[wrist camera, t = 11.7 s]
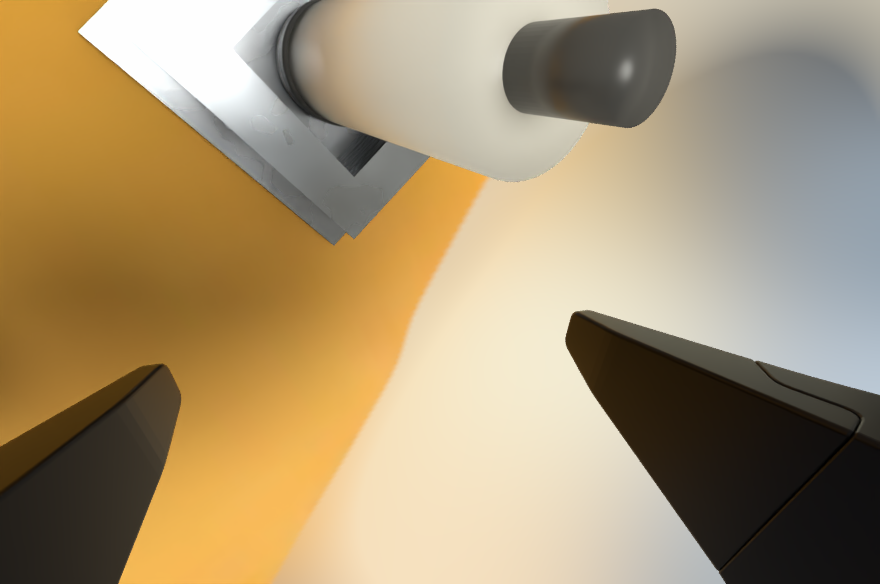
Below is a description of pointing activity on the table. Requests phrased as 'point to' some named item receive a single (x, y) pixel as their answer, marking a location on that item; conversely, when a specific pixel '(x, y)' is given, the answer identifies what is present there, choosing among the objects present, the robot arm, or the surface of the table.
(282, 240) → the table surface
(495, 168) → the white bottle
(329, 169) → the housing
